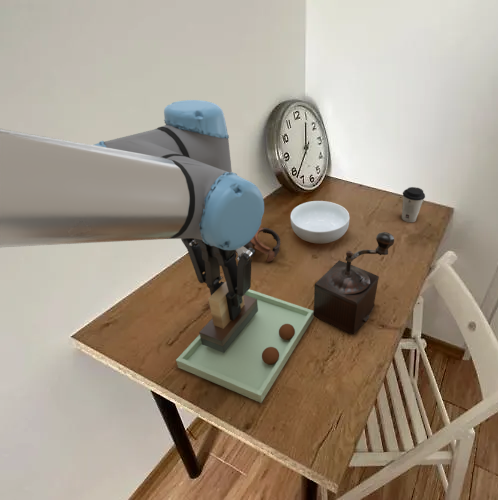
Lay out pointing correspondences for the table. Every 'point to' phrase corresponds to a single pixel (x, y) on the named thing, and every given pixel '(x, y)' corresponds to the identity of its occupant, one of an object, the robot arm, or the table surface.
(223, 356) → the tray
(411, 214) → the coffee cup
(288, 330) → the cork ball
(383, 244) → the manual coffee grinder
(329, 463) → the table surface
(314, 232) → the cereal bowl
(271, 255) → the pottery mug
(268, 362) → the cork ball
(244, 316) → the chalkboard eraser
